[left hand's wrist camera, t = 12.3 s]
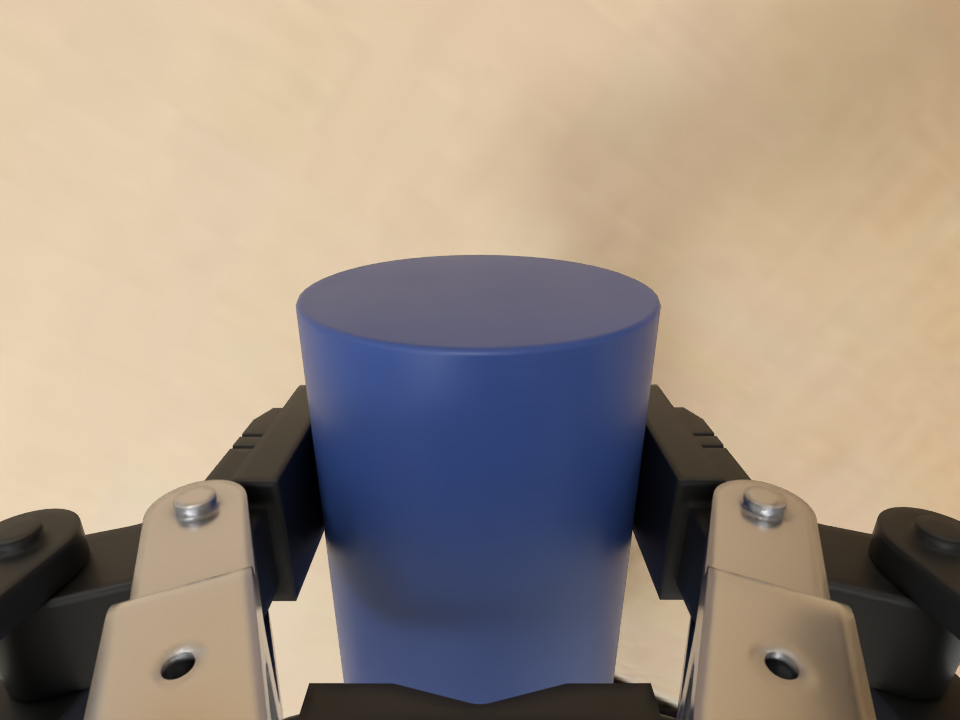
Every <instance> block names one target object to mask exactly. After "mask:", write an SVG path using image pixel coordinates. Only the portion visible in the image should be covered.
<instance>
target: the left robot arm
mask: <svg viewBox="0 0 960 720" xmlns="http://www.w3.org/2000/svg"><path fill="white" fill-rule="evenodd" d="M323 532H324V522H323V514H322V506H321V498H320V491H319V483H318V475H317V467H316V459H315V452H314V444H313V436H312V428H311V420H310V413H309V405H308V397H307V389H306V385H300V386H299V387H298V388H297V389H296V391H295V392H294V393H293V395H292V396H291V398H290V399H289V400H288V402H287V403H286V404H285V406H284V407H283V408H273V409H271V410H269V411H268V412H266V413H264V414H263V415H261V416H259V417H258V418H256V419H254V420H253V421H252V423H251V424H250V425H249V426H248V428H247V429H246V430H245V431H244V432H243V434H242V437H239V439H238V440H237V441H236V442H235V444H234V445H233V449H230V450H229V451H228V452H227V454H226V455H225V456H224V457H223V459H222V460H221V461H220V462H219V463H218V465H217V466H216V467H215V468H214V470H213V471H212V472H211V473H210V475H209V476H208V477H207V478H206V480H205V481H200V482H195V483H191V484H188V485H185V486H182V487H179V488H177V489H175V490H173V491H171V492H169V493H167V494H165V495H164V496H162V497H161V498H159V499H158V500H157V501H155V502H154V503H153V504H152V505H151V506H150V507H149V508H148V510H147V511H146V513H145V515H144V518H143V523H141V524H138V525H133V526H129V527H124V528H119V529H114V530H108V531H103V532H98V533H93V534H88V535H85V533H84V530H83V527H82V524H81V521H80V518H79V516H78V515H77V514H76V513H74V512H72V511H70V510H65V509H44V510H37V511H32V512H28V513H24V514H21V515H17V516H14V517H11V518H9V519H6V520H4V521H1V522H0V720H960V678H959V677H958V676H957V675H956V674H955V672H956V670H957V667H958V665H959V663H960V521H958V520H956V519H953V518H951V517H948V516H945V515H942V514H939V513H936V512H932V511H928V510H924V509H918V508H910V507H895V508H890V509H887V510H884V511H883V512H881V513H880V514H879V516H878V518H877V521H876V524H875V527H874V531H873V534H868V533H863V532H858V531H852V530H847V529H842V528H837V527H832V526H827V525H822V524H818V523H817V518H816V515H815V513H814V511H813V510H812V508H811V507H810V506H809V505H808V504H807V503H806V502H805V501H803V500H802V499H801V498H799V497H798V496H796V495H795V494H793V493H791V492H789V491H787V490H785V489H783V488H781V487H778V486H775V485H772V484H769V483H765V482H760V481H754V480H751V479H750V478H749V476H748V475H747V474H746V473H745V471H744V470H743V469H742V468H741V466H740V465H739V464H738V463H737V461H736V460H735V459H734V458H733V456H732V455H731V454H730V453H729V451H728V450H727V449H726V448H724V447H723V444H722V443H721V441H720V440H719V439H718V438H717V436H714V433H713V431H712V430H711V429H710V428H709V426H708V425H707V424H706V423H705V421H704V420H703V419H702V418H700V417H698V416H697V415H695V414H693V413H692V412H690V411H688V410H687V409H685V408H683V407H673V406H672V404H671V403H670V402H669V400H668V399H667V397H666V396H665V395H664V393H663V392H662V390H661V389H660V388H659V386H658V385H651V387H650V395H649V402H648V410H647V418H646V426H645V434H644V442H643V450H642V458H641V466H640V474H639V482H638V490H637V497H636V505H635V513H634V521H633V532H634V535H635V537H636V540H637V542H638V545H639V547H640V550H641V552H642V555H643V558H644V560H645V563H646V565H647V568H648V570H649V573H650V576H651V578H652V581H653V583H654V586H655V588H656V591H657V593H658V596H659V599H660V600H684V602H685V604H686V606H687V609H688V611H689V613H690V615H691V617H690V622H689V627H688V634H687V642H686V649H685V657H684V665H683V672H682V680H681V688H680V695H679V703H678V711H677V718H676V719H675V718H672V717H669V716H665V715H662V714H660V712H659V708H658V705H657V702H656V699H655V696H654V692H653V689H652V686H651V683H566V684H562V685H558V686H554V687H550V688H547V689H543V690H539V691H535V692H531V693H527V694H523V695H519V696H515V697H511V698H507V699H503V700H500V701H496V702H492V703H487V704H473V703H468V702H464V701H460V700H457V699H453V698H449V697H445V696H441V695H437V694H433V693H429V692H425V691H421V690H417V689H413V688H410V687H406V686H402V685H398V684H394V683H309V686H308V689H307V692H306V696H305V699H304V702H303V705H302V708H301V712H300V714H298V715H295V716H291V717H288V718H285V719H284V718H283V711H282V703H281V695H280V688H279V680H278V672H277V665H276V657H275V649H274V642H273V634H272V627H271V622H270V617H269V611H268V609H269V607H270V605H271V602H272V601H296V600H297V597H298V595H299V592H300V590H301V587H302V585H303V582H304V580H305V577H306V575H307V572H308V570H309V567H310V565H311V562H312V560H313V557H314V555H315V552H316V550H317V547H318V545H319V542H320V540H321V537H322V535H323Z"/></svg>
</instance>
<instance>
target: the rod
mask: <svg viewBox="0 0 960 720" xmlns="http://www.w3.org/2000/svg"><path fill="white" fill-rule="evenodd" d="M660 307H661V305H660V302H659V299H658V297H657V295H656V294H655V293H654V291H653V290H652V289H650V288H649V287H648V286H646V285H645V284H643V283H641V282H639V281H637V280H635V279H633V278H630V277H628V276H625V275H623V274H620V273H617V272H614V271H611V270H607V269H603V268H599V267H595V266H591V265H586V264H581V263H575V262H569V261H562V260H554V259H546V258H535V257H522V256H502V255H455V256H435V257H422V258H411V259H403V260H395V261H389V262H382V263H377V264H371V265H366V266H362V267H358V268H354V269H350V270H346V271H343V272H340V273H337V274H334V275H332V276H329V277H326V278H324V279H322V280H320V281H318V282H316V283H314V284H312V285H311V286H309V287H308V288H306V289H305V290H304V291H303V292H302V293H301V295H300V296H299V298H298V301H297V304H296V311H297V319H298V327H299V335H300V342H301V350H302V358H303V366H304V374H305V381H306V389H307V397H308V405H309V413H310V420H311V428H312V436H313V444H314V452H315V459H316V467H317V475H318V483H319V491H320V498H321V506H322V514H323V522H324V530H325V537H326V545H327V553H328V561H329V569H330V577H331V584H332V592H333V600H334V608H335V616H336V623H337V631H338V639H339V647H340V655H341V662H342V670H343V678H344V683H394V684H398V685H402V686H406V687H410V688H413V689H417V690H421V691H425V692H429V693H433V694H437V695H441V696H445V697H449V698H453V699H457V700H460V701H464V702H468V703H473V704H487V703H492V702H496V701H500V700H503V699H507V698H511V697H515V696H519V695H523V694H527V693H531V692H535V691H539V690H543V689H547V688H550V687H554V686H558V685H562V684H566V683H613V679H614V672H615V664H616V656H617V648H618V640H619V632H620V624H621V616H622V608H623V600H624V592H625V584H626V577H627V569H628V561H629V553H630V545H631V537H632V529H633V521H634V513H635V505H636V497H637V490H638V482H639V474H640V466H641V458H642V450H643V442H644V434H645V426H646V418H647V410H648V402H649V395H650V387H651V379H652V371H653V363H654V355H655V347H656V339H657V331H658V323H659V315H660Z"/></svg>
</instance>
